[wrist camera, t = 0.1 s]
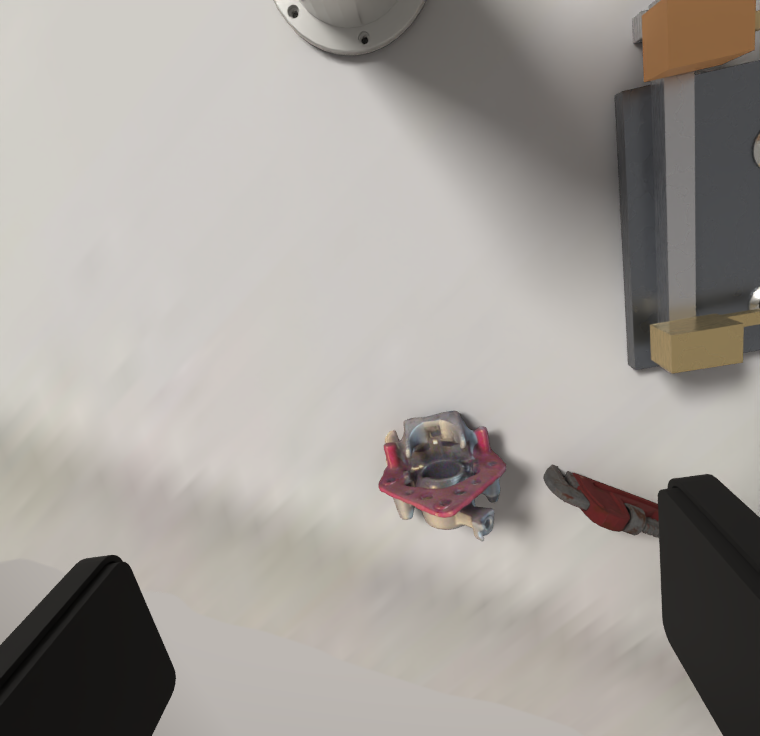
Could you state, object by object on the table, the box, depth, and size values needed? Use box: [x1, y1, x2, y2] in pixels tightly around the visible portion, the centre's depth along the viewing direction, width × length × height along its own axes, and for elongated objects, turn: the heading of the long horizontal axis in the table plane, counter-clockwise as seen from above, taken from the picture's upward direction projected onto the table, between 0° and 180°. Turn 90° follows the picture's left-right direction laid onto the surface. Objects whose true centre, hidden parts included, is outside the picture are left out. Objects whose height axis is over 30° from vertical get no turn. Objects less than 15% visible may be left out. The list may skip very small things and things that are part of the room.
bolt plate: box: [615, 0, 760, 374], centre depth 36 cm, size 27×16×7 cm, turn 11°
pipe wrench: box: [544, 465, 659, 538], centre depth 47 cm, size 7×2×30 cm
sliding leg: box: [642, 0, 760, 82], centre depth 32 cm, size 4×11×5 cm, turn 101°
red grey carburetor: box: [379, 411, 506, 541], centre depth 45 cm, size 11×11×12 cm
